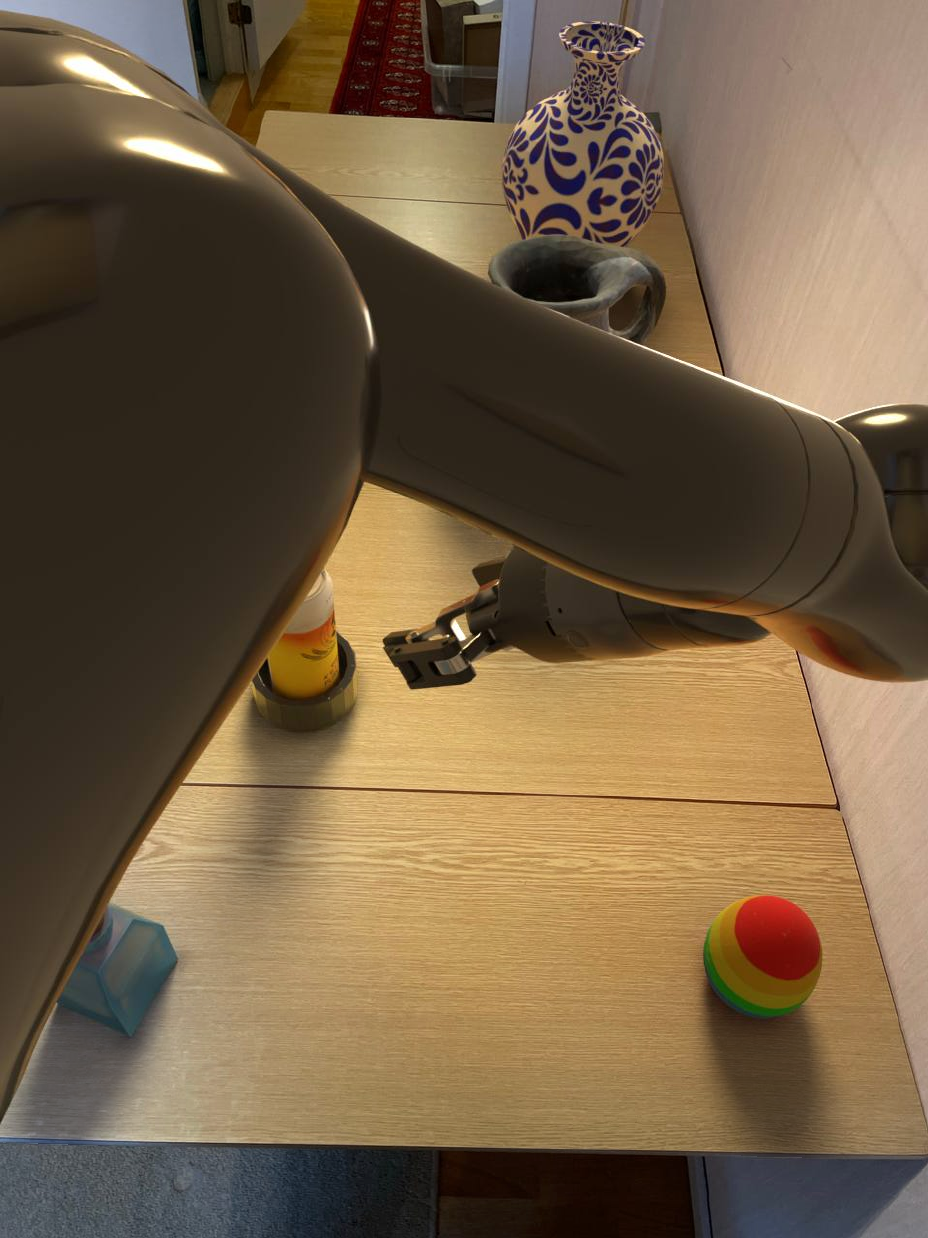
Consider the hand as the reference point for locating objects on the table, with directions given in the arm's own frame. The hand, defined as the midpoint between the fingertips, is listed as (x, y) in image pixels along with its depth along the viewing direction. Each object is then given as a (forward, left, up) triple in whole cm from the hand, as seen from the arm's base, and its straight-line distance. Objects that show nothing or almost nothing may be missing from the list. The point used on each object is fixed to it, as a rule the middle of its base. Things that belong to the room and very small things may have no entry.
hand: (438, 614), depth 65 cm
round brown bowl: (+13, +10, -25) cm, 29 cm away
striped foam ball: (-18, -22, -25) cm, 38 cm away
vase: (+84, -31, -25) cm, 93 cm away
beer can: (+13, +10, -24) cm, 29 cm away
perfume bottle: (-12, +25, -25) cm, 37 cm away
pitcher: (+44, -18, -25) cm, 54 cm away
